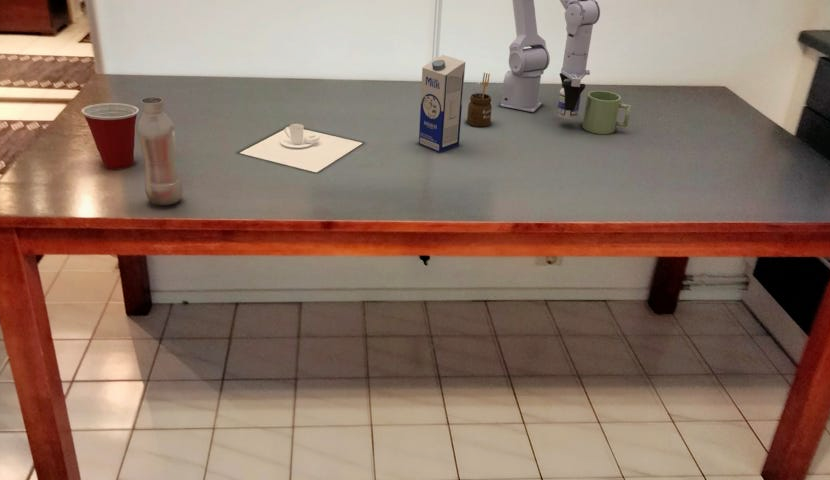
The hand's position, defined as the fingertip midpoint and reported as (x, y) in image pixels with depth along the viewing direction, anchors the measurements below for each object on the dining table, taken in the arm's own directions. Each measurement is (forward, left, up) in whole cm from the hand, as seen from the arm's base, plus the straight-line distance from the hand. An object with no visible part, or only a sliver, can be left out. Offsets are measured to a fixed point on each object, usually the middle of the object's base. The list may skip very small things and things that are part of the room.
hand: (568, 106), depth 192 cm
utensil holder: (-20, -10, -5) cm, 23 cm away
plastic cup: (-77, -74, -5) cm, 107 cm away
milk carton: (-23, -29, -5) cm, 37 cm away
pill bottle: (0, 0, -3) cm, 3 cm away
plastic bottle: (-57, -84, -5) cm, 101 cm away
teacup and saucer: (-49, -47, -5) cm, 68 cm away
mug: (+9, +3, -5) cm, 11 cm away
